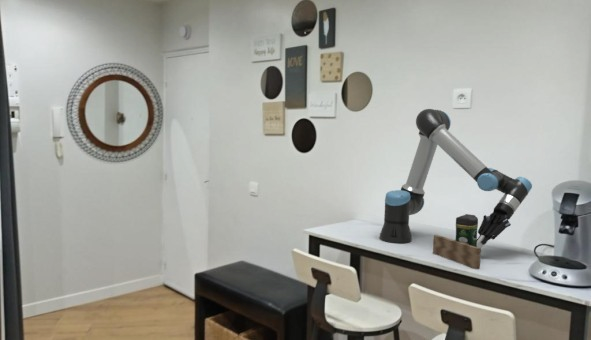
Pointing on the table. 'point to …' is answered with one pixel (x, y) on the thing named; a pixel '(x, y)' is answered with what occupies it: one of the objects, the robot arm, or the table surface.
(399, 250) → the table surface
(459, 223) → the coffee jar
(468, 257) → the board
